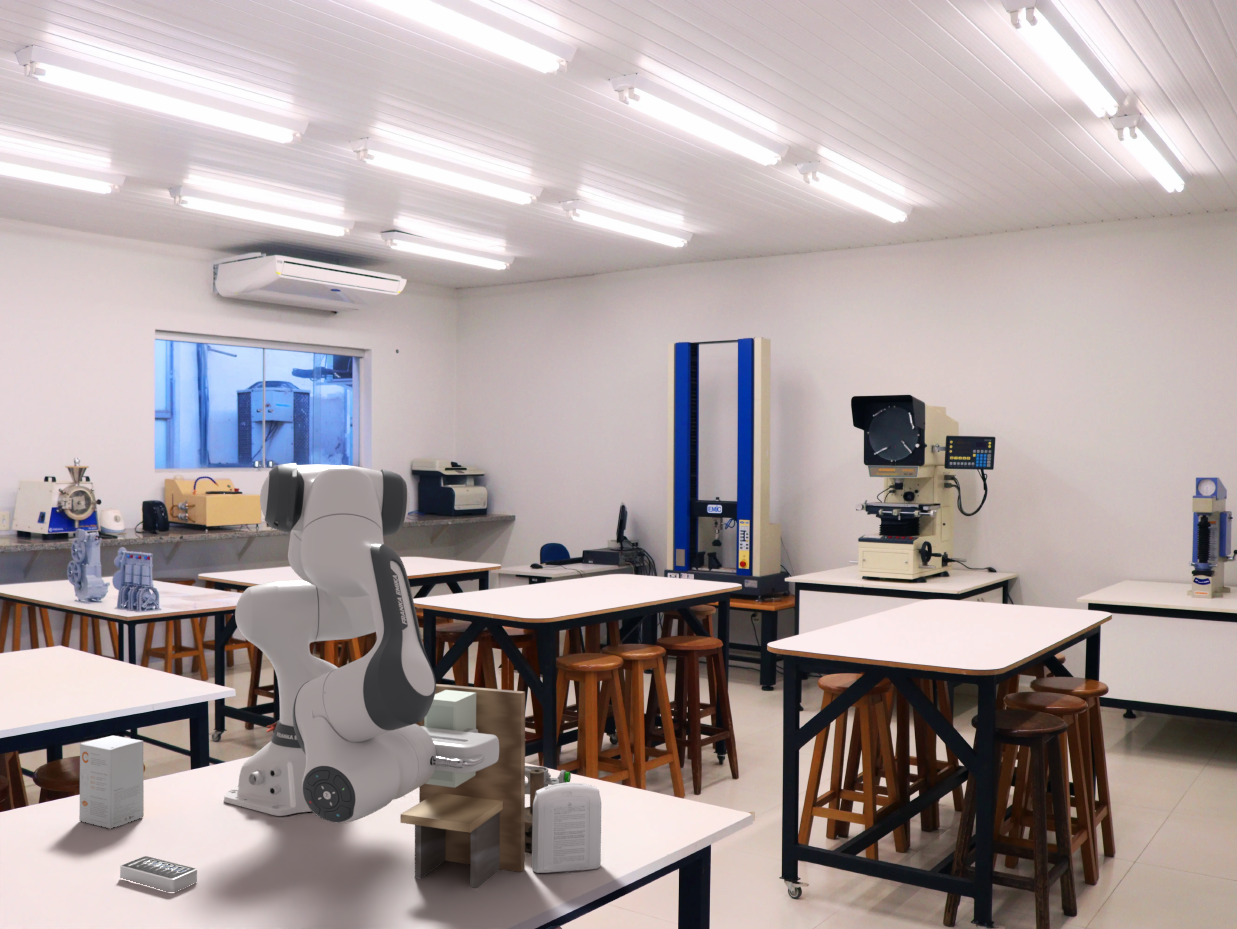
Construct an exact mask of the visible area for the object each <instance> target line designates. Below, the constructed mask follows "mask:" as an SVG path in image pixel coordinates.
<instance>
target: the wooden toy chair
mask: <svg viewBox="0 0 1237 929" xmlns="http://www.w3.org/2000/svg"><path fill="white" fill-rule="evenodd" d="M444 690H453V691H464V692H474V693H476V729H477V730H478V733H483V734H492V735H496V736H497V738H498V740H499V758H498V761H497V762H496V763H495V764H493V765H490V766H488V767H486V768H484V769H481V770H479V771H476V775H475V776H474V777H472V778H470V779H469V780H467V781H465V782H464V783H462V784H460V785H459V786H457V787H455V788H454V787H446V786H439V785H431V784H424V785H422V786H420V787H419V788H418V789H419V791H418V793H419V794H418V795H419V796H418V797H419V799H418V800H419V802H418V803H416V804H415V805H413V806H411V807H410V808H408V809H407V810H405V811H403V812H402V813H400V820H399V821H400V824H405V825H407V824H409V825H413V826H414V878H416V879H423V878H424V877H425V876H426V875H428V874H429V873H431V872H432V871H433V870H434V869H436V868H437V867H439V866H440V865H441V864H443V863H444V862H451V863H452V862H453V863H459V864H465V865H470V887H471V888H475V889H476V888H478V887H480V886H481V885H482V884H483V883H484V882H486V881H487V880H488V879H489V878H491V876H493V875H494V874H495V873H497V871H499V870H504V871H510V872H517V873H522V872H523V871H524V870H525V869H526V867H525V865H526V864H525V862H526V861H525V860H526V858H525V857H526V856H525V855H526V853H525V852H526V851H525V807H526V794H525V781H526V776H525V766H526V691H522V690H511V689H498V688H486V687H476V686H474V687H473V686H464V685H453V684H452V685H451V684H442V683H441V684H439V683H436V691H435V694H437V693H440V692H442V691H444ZM419 726H424V719H423V720H422V721H420V722H419Z"/></svg>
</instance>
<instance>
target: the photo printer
mask: <svg viewBox="0 0 1237 929" xmlns="http://www.w3.org/2000/svg"><path fill="white" fill-rule="evenodd" d="M601 844H602V799H601V795H600V790H599V788H598V787H597V786H595V785H592V784H587V783H584V782H583V783H582V782H567V783H559V784H554V785H548V786H547V787H544V788H542V789H539V790H537V791H536V792H535V798H534V802H533V831H532V852H531V869H532V871H533V872H535V873H537V874H539V873H541V874H542V873H558V872H559V873H560V872H572V871H586V870H595V869H599V868H600V867H601V864H602V863H601V860H602V859H601V857H602V856H601V855H602V851H601V850H602V849H601V848H602V847H601V846H602V845H601Z"/></svg>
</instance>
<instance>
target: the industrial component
mask: <svg viewBox="0 0 1237 929" xmlns="http://www.w3.org/2000/svg"><path fill="white" fill-rule="evenodd" d="M542 788H544V771H543V770H542V769H533V770H531V771H530V794H529V806H525V852H527V853H528V852H529V853H532V831H533V802H534V798H535V792H536V791H537V790H539V789H542Z"/></svg>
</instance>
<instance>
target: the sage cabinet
mask: <svg viewBox="0 0 1237 929" xmlns="http://www.w3.org/2000/svg"><path fill="white" fill-rule="evenodd" d="M424 727H429V728H438V729H447V730H456V731H463V730H465V729H467V728H471V729H476V693H474V692H464V691H453V690H444V691H442V692H440V693H437V694H435V696H434V700H433V702H432V705H431V707H430V709H429V711H428V713H427V715H426V717H425V718H424ZM475 775H476V772H472V773H454V772H446V771H439V770H435V771H434V773H433V775H432V777H431V778H430V779H429V780H428V781H427V782H426V783H425V784H431V785H439V786H446V787H454V788H455V787H457V786H459V785H460V784H462V783H464V782H465V781H467V780H469V779H470V778H472V777H474V776H475Z"/></svg>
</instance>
